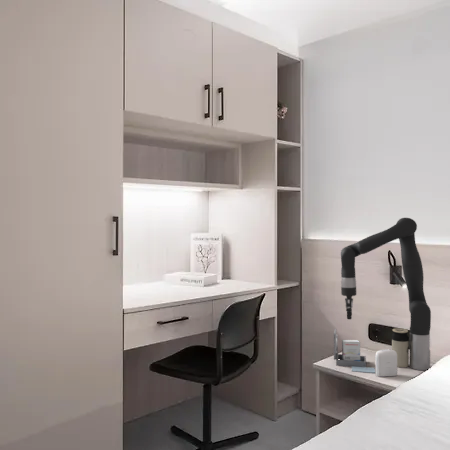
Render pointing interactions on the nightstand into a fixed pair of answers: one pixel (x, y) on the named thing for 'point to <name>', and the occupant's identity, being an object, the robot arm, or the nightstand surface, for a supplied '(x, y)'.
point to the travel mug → (401, 346)
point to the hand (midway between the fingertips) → (349, 317)
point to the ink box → (351, 350)
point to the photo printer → (386, 363)
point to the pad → (363, 369)
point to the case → (346, 362)
